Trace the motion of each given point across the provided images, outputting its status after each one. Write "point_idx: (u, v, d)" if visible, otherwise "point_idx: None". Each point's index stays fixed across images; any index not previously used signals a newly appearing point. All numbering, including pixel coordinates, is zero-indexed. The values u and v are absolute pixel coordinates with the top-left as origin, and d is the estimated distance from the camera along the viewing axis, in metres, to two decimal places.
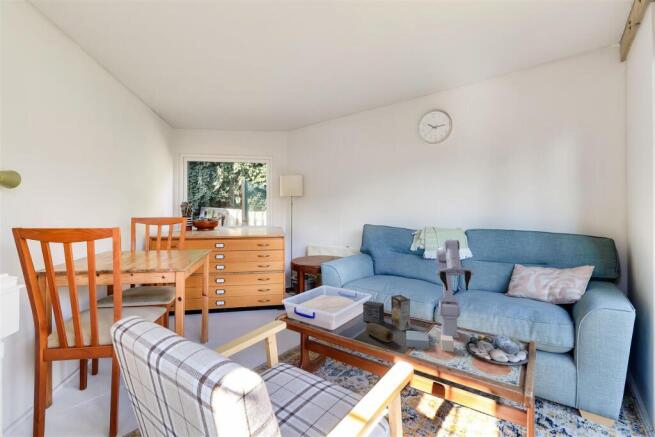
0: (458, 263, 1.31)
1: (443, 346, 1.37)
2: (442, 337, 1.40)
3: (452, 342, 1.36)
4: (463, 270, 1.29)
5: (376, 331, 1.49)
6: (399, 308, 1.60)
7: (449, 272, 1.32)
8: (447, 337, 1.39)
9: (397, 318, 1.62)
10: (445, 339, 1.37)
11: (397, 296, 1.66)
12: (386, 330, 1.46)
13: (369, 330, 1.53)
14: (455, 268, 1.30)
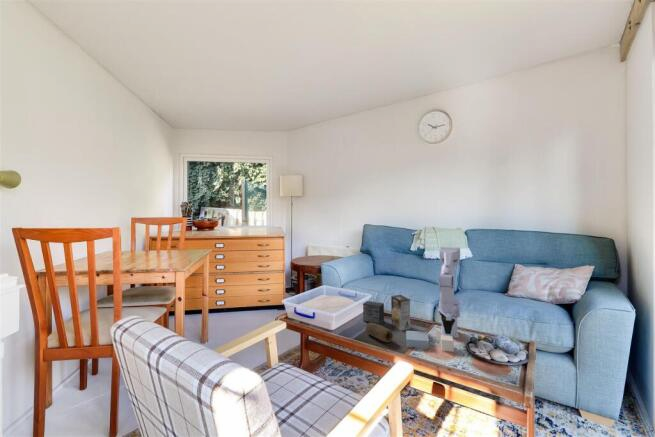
0: (441, 306, 1.37)
1: (443, 346, 1.37)
2: (442, 337, 1.40)
3: (452, 342, 1.36)
4: None
5: (376, 331, 1.49)
6: (399, 308, 1.60)
7: None
8: (447, 337, 1.39)
9: (397, 318, 1.62)
10: (445, 339, 1.37)
11: (397, 296, 1.66)
12: (386, 330, 1.46)
13: (369, 330, 1.53)
14: None
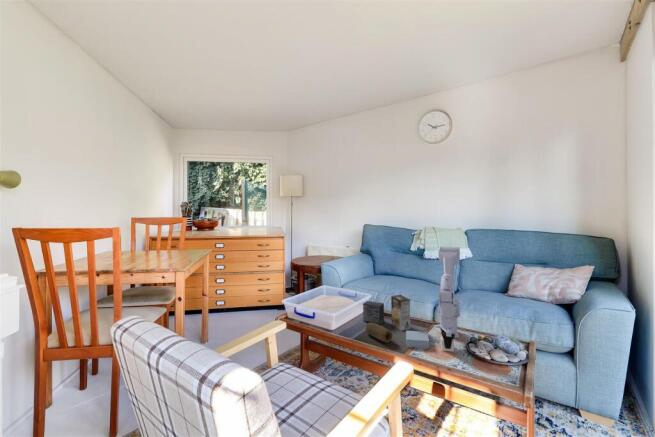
0: (442, 322, 1.37)
1: (443, 345, 1.37)
2: (442, 337, 1.40)
3: (452, 342, 1.36)
4: None
5: (376, 331, 1.49)
6: (399, 308, 1.60)
7: None
8: None
9: (397, 318, 1.62)
10: None
11: (397, 296, 1.66)
12: (385, 330, 1.46)
13: (369, 330, 1.53)
14: None
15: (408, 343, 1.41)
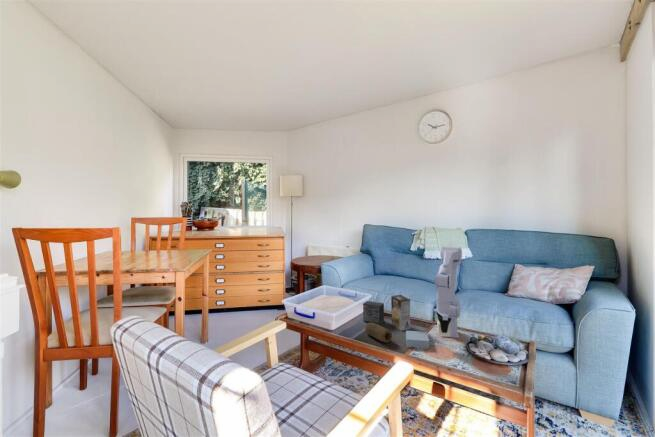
0: (438, 306, 1.38)
1: (439, 330, 1.37)
2: None
3: (449, 326, 1.36)
4: None
5: (375, 331, 1.49)
6: (399, 308, 1.60)
7: None
8: None
9: (397, 318, 1.62)
10: None
11: (397, 296, 1.66)
12: (385, 330, 1.46)
13: (368, 330, 1.53)
14: None
15: (408, 343, 1.41)
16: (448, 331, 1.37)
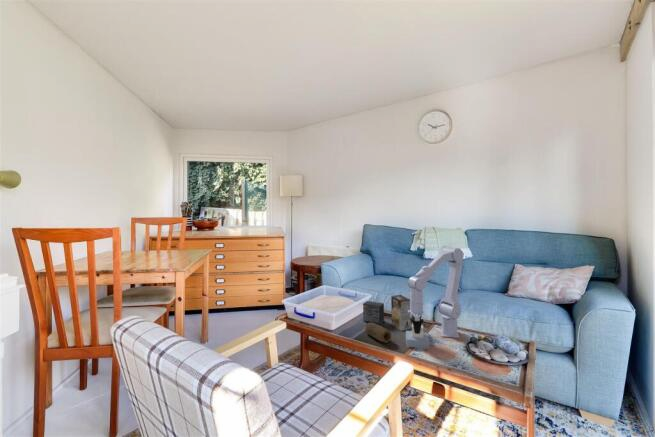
0: (411, 307, 1.43)
1: (413, 332, 1.43)
2: None
3: (422, 329, 1.42)
4: None
5: (375, 331, 1.49)
6: (399, 308, 1.60)
7: None
8: None
9: (397, 318, 1.62)
10: None
11: (397, 296, 1.66)
12: (384, 330, 1.46)
13: (368, 330, 1.54)
14: None
15: (408, 343, 1.41)
16: (421, 334, 1.42)
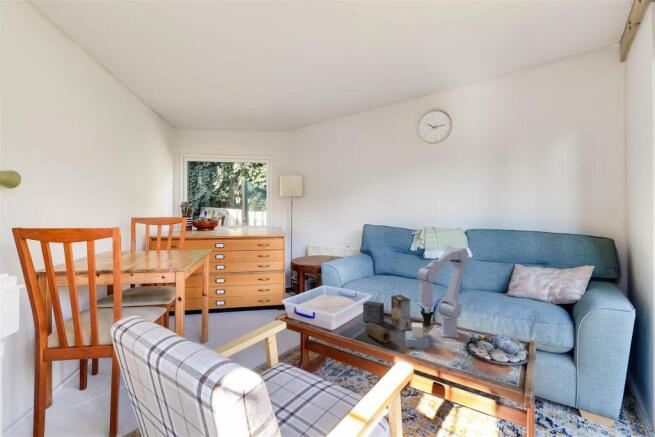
0: (421, 299, 1.42)
1: (413, 332, 1.43)
2: (412, 324, 1.46)
3: (422, 328, 1.42)
4: None
5: (374, 331, 1.49)
6: (399, 308, 1.60)
7: None
8: (417, 324, 1.46)
9: (397, 318, 1.62)
10: (415, 326, 1.44)
11: (397, 296, 1.66)
12: (383, 330, 1.46)
13: (367, 330, 1.54)
14: None
15: (408, 343, 1.41)
16: (421, 333, 1.43)
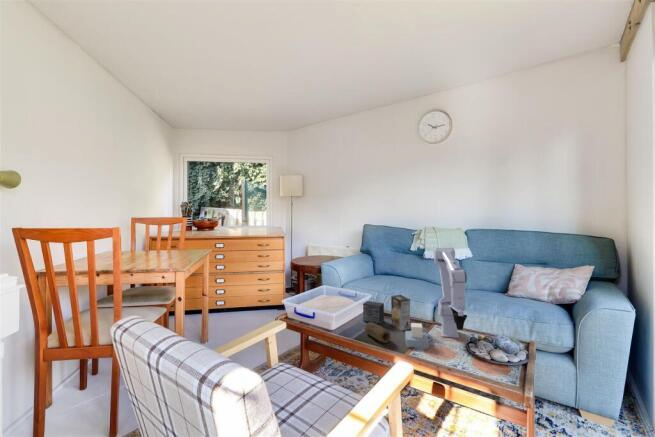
0: (453, 302, 1.37)
1: (412, 332, 1.43)
2: (412, 324, 1.46)
3: (421, 329, 1.42)
4: None
5: (374, 331, 1.49)
6: (399, 308, 1.60)
7: None
8: (416, 324, 1.46)
9: (397, 318, 1.62)
10: (414, 326, 1.43)
11: (397, 296, 1.66)
12: (383, 330, 1.46)
13: (367, 330, 1.54)
14: None
15: (408, 343, 1.41)
16: (420, 334, 1.42)
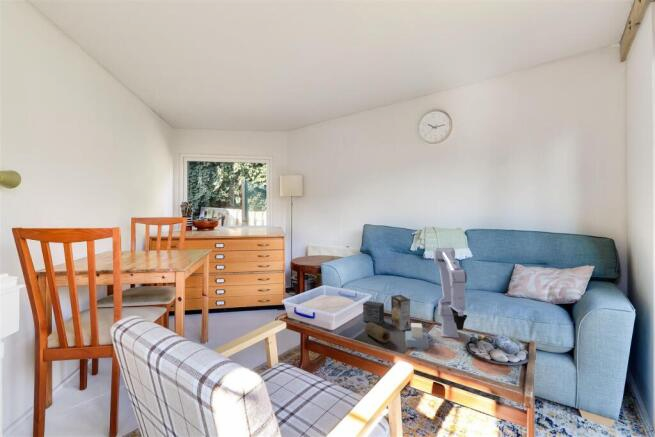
0: (453, 302, 1.37)
1: (412, 332, 1.43)
2: (412, 324, 1.46)
3: (421, 329, 1.42)
4: None
5: (374, 331, 1.49)
6: (399, 308, 1.60)
7: None
8: (416, 324, 1.46)
9: (397, 318, 1.62)
10: (414, 326, 1.43)
11: (397, 296, 1.66)
12: (383, 330, 1.46)
13: (367, 330, 1.54)
14: None
15: (408, 343, 1.41)
16: (420, 334, 1.42)
